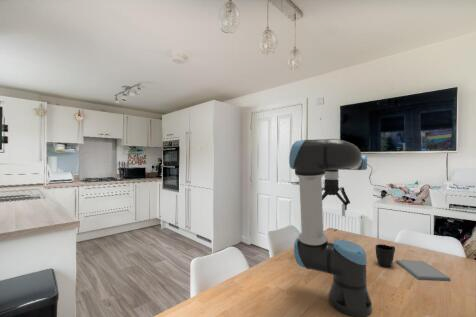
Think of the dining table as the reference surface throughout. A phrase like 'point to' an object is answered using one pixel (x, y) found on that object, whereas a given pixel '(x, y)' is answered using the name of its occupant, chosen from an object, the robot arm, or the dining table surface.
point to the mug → (385, 255)
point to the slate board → (422, 270)
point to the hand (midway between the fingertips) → (331, 215)
